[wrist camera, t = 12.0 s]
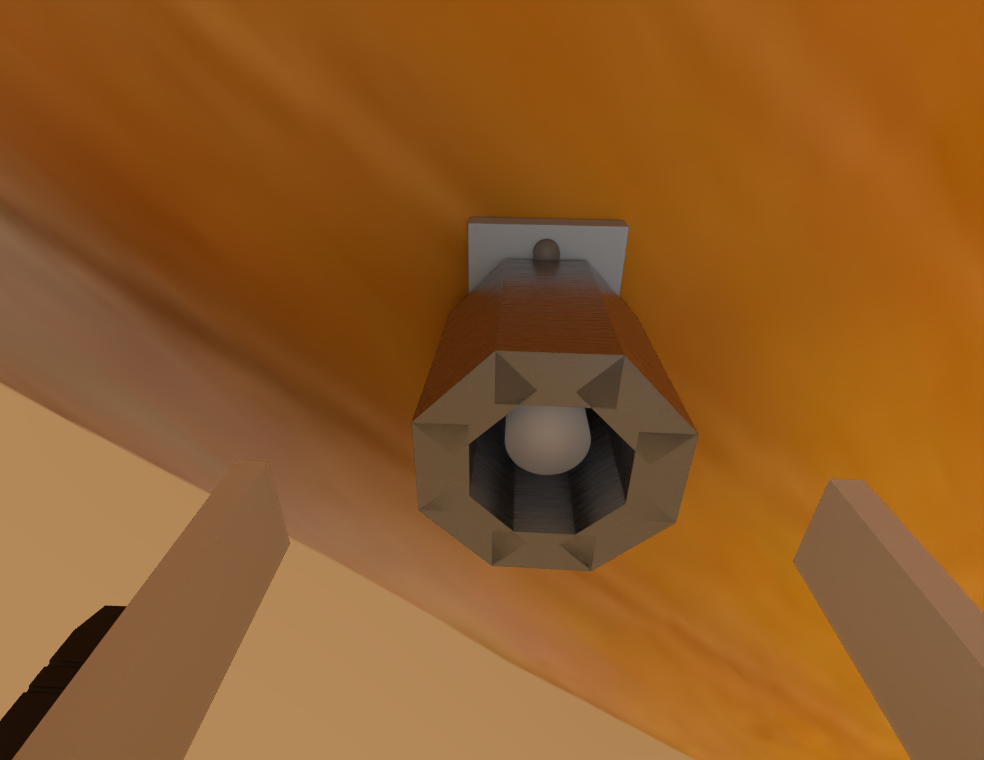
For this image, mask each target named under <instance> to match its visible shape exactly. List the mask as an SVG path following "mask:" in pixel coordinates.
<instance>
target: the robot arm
mask: <svg viewBox="0 0 984 760" xmlns="http://www.w3.org/2000/svg"><path fill="white" fill-rule="evenodd" d="M289 545H290V542H289V538H288V534H287V530H286V526H285V523H284V519H283V515H282V512H281V508H280V504H279V500H278V497H277V493H276V489H275V486H274V482H273V478H272V474H271V471H270V467H269V463H268V462H266V461H236V462H235V463H234V464H233V466H232V467H231V468H230V470H229V471H228V472H227V474H226V475H225V476H224V478H223V479H222V480H221V482H220V483H219V484H218V486H217V487H216V488H215V490H214V491H213V492H212V494H211V495H210V496H209V498H208V499H207V500H206V502H205V503H204V505H203V506H202V507H201V509H200V510H199V511H198V512H197V514H196V515H195V516H194V518H193V519H192V521H191V522H190V523H189V525H188V526H187V527H186V528H185V530H184V531H183V532H182V534H181V535H180V536H179V538H178V539H177V540H176V542H175V543H174V544H173V546H172V547H171V548H170V550H169V551H168V552H167V554H166V555H165V556H164V558H163V559H162V560H161V562H160V563H159V564H158V566H157V567H156V568H155V570H154V571H153V572H152V574H151V575H150V576H149V578H148V579H147V580H146V582H145V583H144V584H143V586H142V587H141V588H140V590H139V591H138V592H137V594H136V595H135V596H134V598H133V599H132V600H131V602H130V603H129V604H128V606H104V607H103V608H102V609H100V610H99V611H98V612H97V613H95V614H94V615H93V616H92V617H90V618H89V619H88V620H87V621H85V622H84V623H83V624H82V625H80V626H79V627H78V628H77V629H75V630H74V631H73V632H72V633H71V635H70V636H69V637H68V639H67V640H66V641H65V642H64V643H63V645H62V646H61V647H60V648H59V649H58V651H57V652H56V653H55V654H54V656H53V657H52V658H51V659H50V663H49V665H48V666H47V667H44V668H43V669H42V670H41V671H40V673H39V674H38V675H37V676H36V678H35V679H34V680H33V681H32V683H31V684H30V685H29V689H28V691H27V692H26V693H25V692H24V693H23V694H22V695H21V696H20V697H19V699H18V700H17V701H16V702H15V703H14V705H13V706H12V707H11V708H10V710H9V711H8V712H7V713H6V715H5V716H4V717H3V718H2V719H1V721H0V760H183V759H184V757H185V755H186V753H187V751H188V749H189V747H190V745H191V743H192V741H193V739H194V737H195V735H196V733H197V731H198V729H199V727H200V725H201V723H202V721H203V719H204V717H205V715H206V713H207V711H208V709H209V707H210V705H211V703H212V701H213V699H214V697H215V695H216V692H217V691H218V688H219V686H220V684H221V682H222V680H223V678H224V676H225V674H226V672H227V670H228V668H229V666H230V664H231V662H232V660H233V658H234V656H235V654H236V652H237V650H238V648H239V646H240V644H241V642H242V640H243V638H244V636H245V634H246V632H247V630H248V628H249V626H250V623H251V622H252V620H253V617H254V615H255V613H256V611H257V609H258V607H259V605H260V603H261V601H262V599H263V597H264V595H265V593H266V591H267V589H268V587H269V585H270V583H271V581H272V579H273V577H274V575H275V573H276V570H277V569H278V567H279V565H280V563H281V561H282V559H283V556H284V555H285V553H286V551H287V549H288V547H289ZM793 562H794V564H795V565H796V567H797V569H798V570H799V572H800V574H801V576H802V577H803V579H804V581H805V582H806V584H807V586H808V587H809V589H810V591H811V592H812V594H813V596H814V597H815V599H816V601H817V602H818V604H819V606H820V607H821V609H822V611H823V612H824V614H825V616H826V617H827V619H828V621H829V623H830V624H831V626H832V628H833V629H834V631H835V633H836V634H837V636H838V638H839V639H840V641H841V643H842V644H843V646H844V648H845V649H846V651H847V653H848V654H849V656H850V658H851V659H852V661H853V663H854V664H855V666H856V668H857V670H858V671H859V673H860V675H861V676H862V678H863V680H864V681H865V683H866V685H867V686H868V688H869V690H870V691H871V693H872V695H873V696H874V698H875V700H876V701H877V703H878V705H879V706H880V708H881V710H882V712H883V713H884V715H885V717H886V718H887V720H888V722H889V723H890V725H891V727H892V728H893V730H894V732H895V733H896V735H897V737H898V738H899V740H900V742H901V743H902V745H903V747H904V748H905V750H906V752H907V753H908V755H909V757H910V759H911V760H984V613H983V612H982V611H981V610H980V609H979V608H978V607H977V605H976V604H975V603H974V602H973V601H972V600H971V599H970V598H969V597H968V595H967V594H966V593H965V592H964V591H963V590H962V589H961V588H960V587H959V585H958V584H957V583H956V582H955V581H954V580H953V579H952V578H951V577H950V575H949V574H948V573H947V572H946V571H945V570H944V569H943V568H942V567H941V565H940V564H939V563H938V562H937V561H936V560H935V559H934V558H933V557H932V555H931V554H930V553H929V552H928V551H927V550H926V549H925V548H924V547H923V546H922V544H921V543H920V542H919V541H918V540H917V539H916V538H915V537H914V536H913V534H912V533H911V532H910V531H909V530H908V529H907V528H906V527H905V526H904V524H903V523H902V522H901V521H900V520H899V519H898V518H897V517H896V516H895V514H894V513H893V512H892V511H891V510H890V509H889V508H888V507H887V506H886V504H885V503H884V502H883V501H882V500H881V499H880V498H879V497H878V496H877V494H876V493H875V492H874V491H873V490H872V489H871V488H870V487H869V486H868V485H867V483H866V482H865V481H864V480H847V479H829V481H828V484H827V486H826V488H825V490H824V493H823V495H822V497H821V499H820V502H819V504H818V506H817V508H816V511H815V513H814V515H813V517H812V520H811V522H810V524H809V526H808V529H807V531H806V533H805V535H804V538H803V540H802V542H801V544H800V547H799V549H798V551H797V553H796V556H795V558H794V560H793Z"/></svg>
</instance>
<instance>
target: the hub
mask: <svg viewBox="0 0 984 760" xmlns="http://www.w3.org/2000/svg"><path fill="white" fill-rule="evenodd" d="M518 405H531V406H556V407H581V408H585V411H586V416H587V421H588V425H589V430H590V436H591V443H590V448H589V450H588V453H587V455H586V456H585V458H584V459H583V460H582V461H581V462H580V463H579V464H578V465H577V466H575V467H574V468H572V469H570V470H568V471H566V472H563V473H559V474H553V475H541V474H535V473H532V472H529V471H526V470H524V469H523V468H521V467H519V466H518V465H517V464H516V463H515V462H514V461H513V460H512V459H511V458H510V456H509V454H508V453H507V450H506V446H505V426H506V415H507V414H508V413H509V412H511V411H512V410H513V409H515V408H516V407H517V406H518ZM412 435H413V447H414V460H415V473H416V486H417V498H418V510H419V511H420V512H422V513H423V514H424V515H426V516H427V517H428V518H429V519H431V520H432V521H433V522H435V523H436V524H437V525H439V526H440V527H441V528H443V529H444V530H445V531H447V532H448V533H449V534H451V535H452V536H453V537H454V538H456V539H457V540H458V541H460V542H461V543H462V544H464V545H465V546H466V547H468V548H469V549H470V550H472V551H473V552H474V553H476V554H477V555H478V556H480V557H481V558H482V559H483V560H485V561H486V562H487V563H489V564H490V565H491V566H505V567H524V568H542V569H561V570H580V571H592V570H594V569H596V568H597V567H599V566H601V565H603V564H604V563H606V562H608V561H610V560H611V559H613V558H615V557H617V556H618V555H620V554H622V553H624V552H625V551H627V550H629V549H631V548H632V547H634V546H636V545H638V544H639V543H641V542H643V541H645V540H646V539H648V538H650V537H652V536H653V535H655V534H657V533H659V532H660V531H662V530H664V529H666V528H667V527H669V526H671V525H673V524H674V523H676V520H677V516H678V512H679V508H680V504H681V501H682V497H683V493H684V489H685V485H686V481H687V477H688V473H689V469H690V465H691V461H692V458H693V454H694V450H695V446H696V442H697V438H698V433H697V431H696V429H695V427H694V425H693V423H692V421H691V419H690V417H689V415H688V413H687V412H686V410H685V408H684V406H683V404H682V402H681V400H680V398H679V396H678V394H677V392H676V390H675V389H674V387H673V385H672V383H671V381H670V379H669V377H668V375H667V373H666V371H665V369H664V368H663V366H662V364H661V362H660V360H659V358H658V356H657V354H656V352H655V350H654V348H653V347H652V345H651V343H650V341H649V339H648V337H647V335H646V333H645V331H644V329H643V327H642V325H641V324H640V322H639V320H638V318H637V316H636V315H635V314H634V313H633V312H632V311H631V310H630V309H629V307H628V306H627V305H626V304H625V303H624V302H623V301H622V300H621V298H620V297H619V296H618V295H617V294H616V293H615V292H614V291H613V289H612V288H611V287H610V286H609V285H608V284H607V283H606V282H605V280H604V279H603V278H602V277H601V276H600V275H599V274H598V273H597V271H596V270H595V269H594V268H593V267H592V266H591V265H590V264H589V262H588V261H556V260H520V259H506V260H504V261H503V262H502V263H501V264H500V265H499V266H498V267H497V268H496V269H495V270H494V271H493V272H492V273H491V274H490V275H489V276H487V277H486V278H485V279H484V280H483V281H482V282H481V283H480V284H479V285H478V286H477V287H476V288H475V289H474V290H473V291H472V292H470V293H469V294H468V295H467V296H466V297H465V298H464V299H463V300H462V301H461V302H460V303H459V304H458V305H457V306H456V307H454V308H453V309H452V310H451V311H450V314H449V317H448V320H447V323H446V326H445V328H444V331H443V334H442V337H441V340H440V343H439V346H438V348H437V351H436V354H435V357H434V360H433V363H432V366H431V368H430V371H429V374H428V377H427V380H426V383H425V385H424V388H423V391H422V394H421V397H420V400H419V403H418V405H417V408H416V411H415V414H414V417H413V420H412Z"/></svg>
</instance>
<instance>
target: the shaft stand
mask: <svg viewBox="0 0 984 760" xmlns="http://www.w3.org/2000/svg"><path fill="white" fill-rule="evenodd" d="M628 230H629V226H628V225H627V224H626V223H625V222H624V220H593V219H545V218H497V217H471V218H470V220H469V222H468V262H469V293H470V292H472V291H473V290H474V289H475V288H476V287H477V286H478V285H479V284H480V283H481V282H482V281H483V280H484V279H485V278H486V277H487V276H489V275H490V274H491V273H492V272H493V271H494V270H495V269H496V268H497V267H498V266H499V265H500V264H501V263H502V262H503V261H504V260H506V259H520V260H556V261H588V262H589V264H590V265H591V266H592V267H593V268H594V269H595V270H596V271H597V273H598V274H599V275H600V276H601V277H602V278H603V279H604V280H605V282H606V283H607V284H608V285H609V286H610V287H611V288H612V289H613V291H614V292H615V293H616V294H617V295H618V296H619V295H620V288H621V280H622V273H623V266H624V259H625V252H626V244H627V237H628ZM590 443H591V436H590V430H589V425H588V421H587V416H586V411H585V408H581V407H556V406H531V405H518V406H517V407H516V408H515V409H513V410H512V411H511V412H509V413H508V414H507V415H506V426H505V446H506V450H507V453H508V454H509V456H510V458H511V459H512V460H513V461H514V462H515V463H516V464H517V465H518V466H519V467H521V468H523V469H524V470H526V471H529V472H532V473H535V474H541V475H553V474H559V473H563V472H566V471H568V470H570V469H572V468H574V467H575V466H577V465H578V464H579V463H580V462H581V461H582V460H583V459H584V458H585V456H586V455H587V453H588V450H589V448H590Z"/></svg>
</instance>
